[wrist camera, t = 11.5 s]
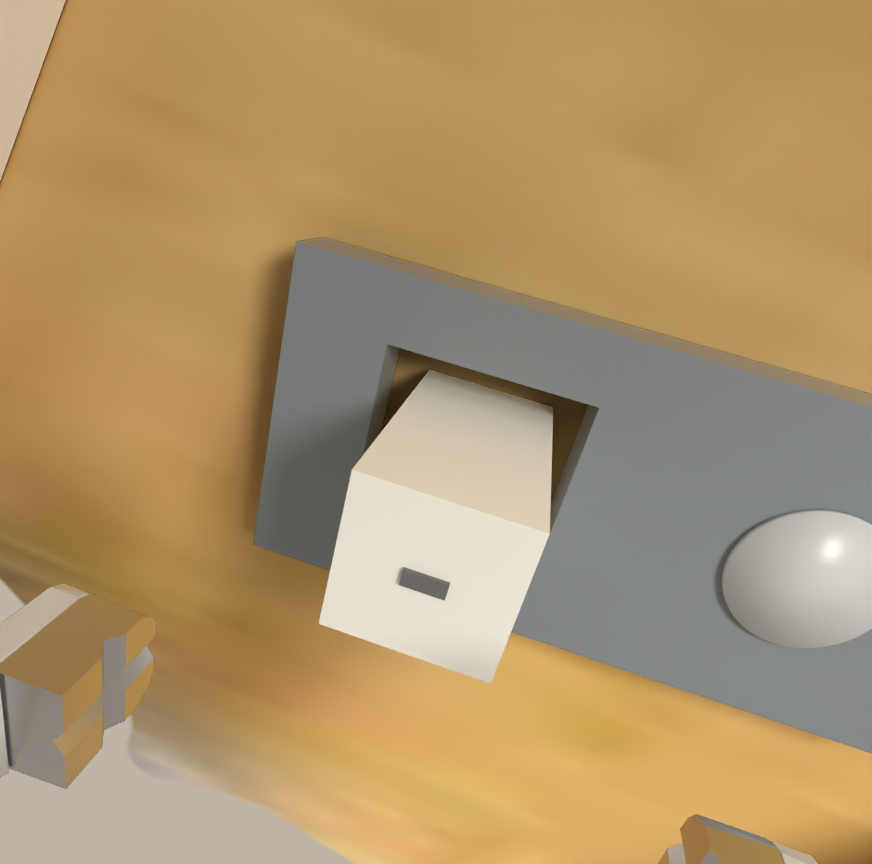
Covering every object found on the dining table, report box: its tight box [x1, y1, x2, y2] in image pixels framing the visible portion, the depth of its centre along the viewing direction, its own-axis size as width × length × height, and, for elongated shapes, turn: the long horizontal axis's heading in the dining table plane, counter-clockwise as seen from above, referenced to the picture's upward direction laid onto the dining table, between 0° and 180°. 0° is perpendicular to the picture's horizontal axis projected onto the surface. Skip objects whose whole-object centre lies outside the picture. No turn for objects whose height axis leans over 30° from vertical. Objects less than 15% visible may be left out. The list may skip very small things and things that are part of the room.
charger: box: [319, 370, 553, 684], centre depth 15 cm, size 4×4×8 cm
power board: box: [253, 237, 872, 753], centre depth 17 cm, size 22×10×2 cm, turn 76°
